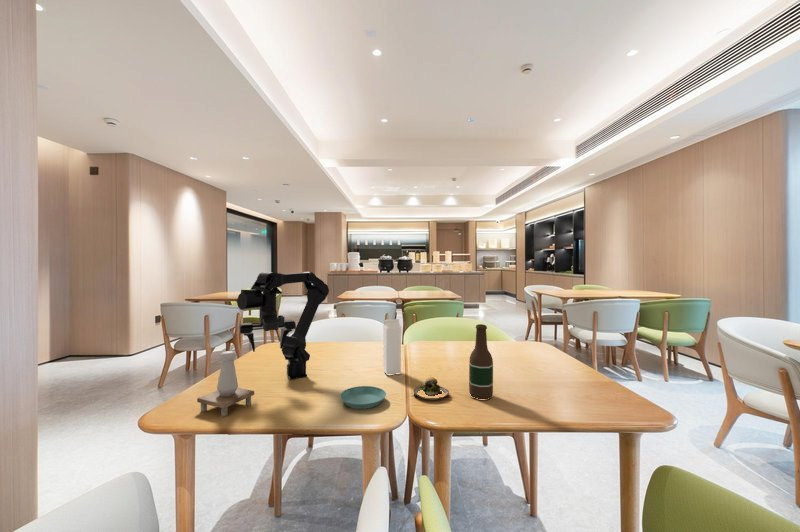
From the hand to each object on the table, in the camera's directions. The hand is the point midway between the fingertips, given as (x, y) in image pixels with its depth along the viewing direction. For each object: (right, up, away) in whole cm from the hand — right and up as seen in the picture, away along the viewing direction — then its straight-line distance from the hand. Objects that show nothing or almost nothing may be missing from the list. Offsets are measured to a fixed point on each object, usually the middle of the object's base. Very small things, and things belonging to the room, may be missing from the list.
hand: (267, 350), depth 121 cm
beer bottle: (+75, -14, -8) cm, 77 cm away
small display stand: (-5, -13, -18) cm, 23 cm away
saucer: (+36, -14, -13) cm, 41 cm away
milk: (+45, -14, +15) cm, 49 cm away
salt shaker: (-5, -9, -18) cm, 21 cm away
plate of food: (+58, -14, -8) cm, 61 cm away
